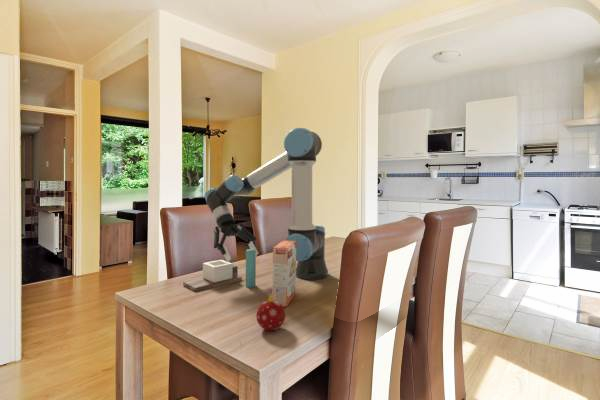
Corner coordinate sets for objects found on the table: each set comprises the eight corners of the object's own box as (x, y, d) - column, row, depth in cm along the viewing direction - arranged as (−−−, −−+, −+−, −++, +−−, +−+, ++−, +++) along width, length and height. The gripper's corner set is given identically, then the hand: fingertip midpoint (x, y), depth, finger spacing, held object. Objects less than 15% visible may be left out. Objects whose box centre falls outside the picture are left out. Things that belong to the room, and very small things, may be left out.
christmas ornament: (265, 338, 96) (265, 303, 95) (251, 327, 103) (251, 294, 102) (290, 330, 101) (291, 297, 100) (275, 320, 108) (275, 289, 107)
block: (232, 278, 146) (232, 263, 145) (213, 282, 140) (213, 267, 139) (221, 273, 152) (221, 259, 152) (202, 277, 146) (202, 263, 146)
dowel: (257, 286, 141) (257, 250, 140) (249, 288, 138) (249, 251, 137) (251, 283, 144) (251, 248, 143) (243, 285, 141) (243, 250, 140)
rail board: (242, 280, 149) (242, 265, 148) (195, 291, 133) (194, 275, 133) (229, 275, 156) (229, 261, 155) (183, 285, 141) (183, 270, 140)
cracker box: (288, 307, 119) (288, 248, 117) (271, 306, 120) (271, 247, 118) (296, 294, 132) (297, 240, 131) (281, 292, 134) (281, 239, 132)
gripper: (243, 221, 163) (263, 257, 154) (195, 226, 146) (213, 267, 136) (250, 211, 159) (270, 248, 149) (201, 214, 142) (220, 257, 132)
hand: (243, 257), depth 143 cm, fingers open, 13 cm apart
